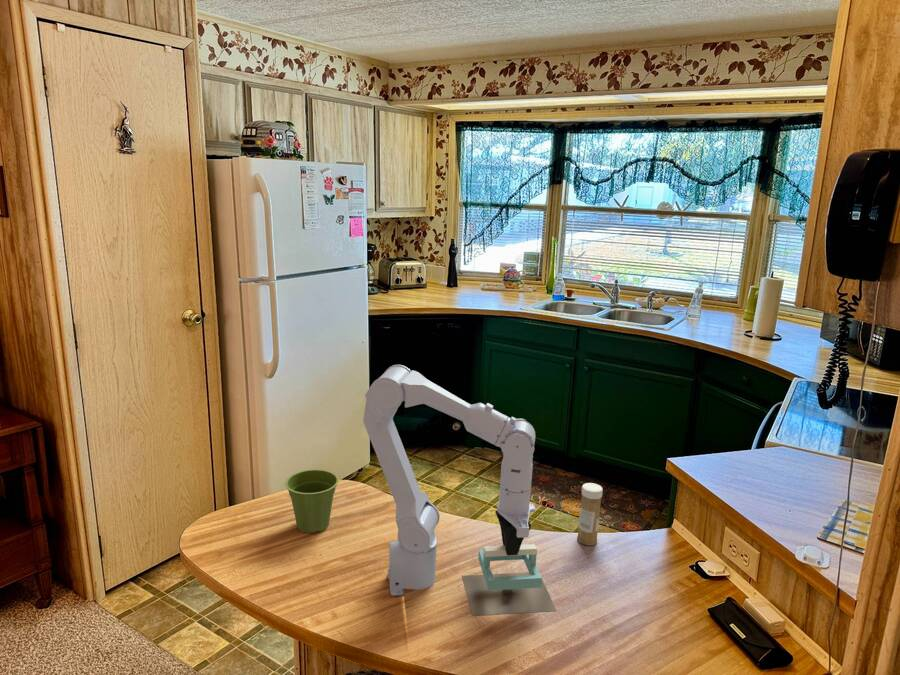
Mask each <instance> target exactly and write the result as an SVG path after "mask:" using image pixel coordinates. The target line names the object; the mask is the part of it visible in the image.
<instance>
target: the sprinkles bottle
mask: <svg viewBox="0 0 900 675" xmlns="http://www.w3.org/2000/svg"><path fill="white" fill-rule="evenodd" d="M603 491H604V490H603V486H601V485H600V484H598V483H593V482H585V483H583V485H582V486H581V500H580V501H581V502H580V506H579V507H580V509H579V518H578V532H577V537H576V539H577V542H579V543H580V544H582V545H585V546H594V545H596V544H597V542H598V531H599V525H600V524H599V522H600V512H601V502H602V499H603V498H602V497H603V493H604V492H603Z"/></svg>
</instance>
